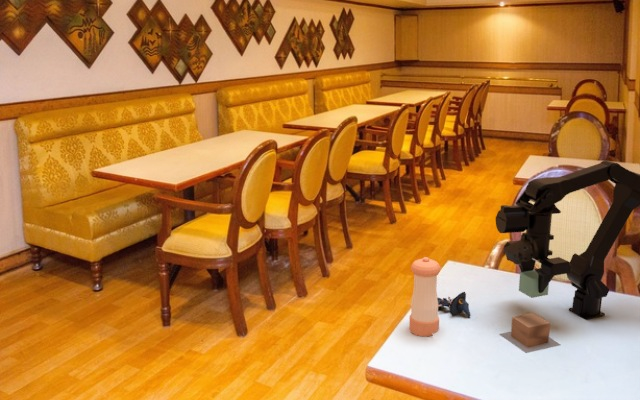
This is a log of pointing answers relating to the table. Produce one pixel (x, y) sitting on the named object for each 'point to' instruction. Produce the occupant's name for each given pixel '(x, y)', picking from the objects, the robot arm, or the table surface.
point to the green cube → (530, 284)
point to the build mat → (533, 348)
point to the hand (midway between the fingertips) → (533, 288)
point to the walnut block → (530, 329)
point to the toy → (455, 304)
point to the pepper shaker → (424, 298)
